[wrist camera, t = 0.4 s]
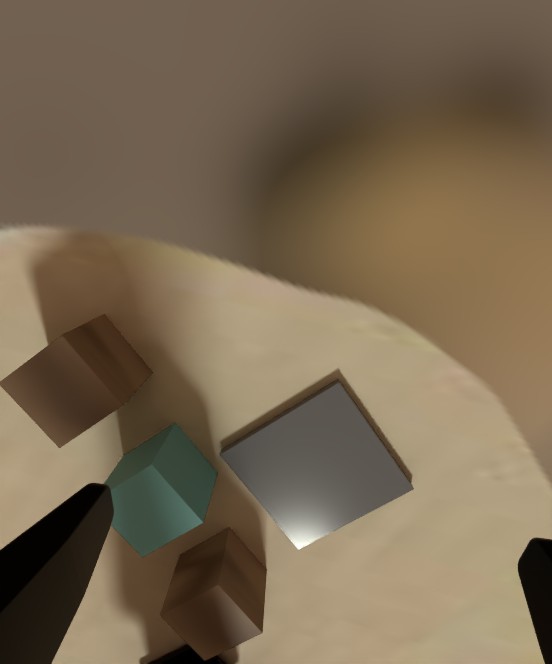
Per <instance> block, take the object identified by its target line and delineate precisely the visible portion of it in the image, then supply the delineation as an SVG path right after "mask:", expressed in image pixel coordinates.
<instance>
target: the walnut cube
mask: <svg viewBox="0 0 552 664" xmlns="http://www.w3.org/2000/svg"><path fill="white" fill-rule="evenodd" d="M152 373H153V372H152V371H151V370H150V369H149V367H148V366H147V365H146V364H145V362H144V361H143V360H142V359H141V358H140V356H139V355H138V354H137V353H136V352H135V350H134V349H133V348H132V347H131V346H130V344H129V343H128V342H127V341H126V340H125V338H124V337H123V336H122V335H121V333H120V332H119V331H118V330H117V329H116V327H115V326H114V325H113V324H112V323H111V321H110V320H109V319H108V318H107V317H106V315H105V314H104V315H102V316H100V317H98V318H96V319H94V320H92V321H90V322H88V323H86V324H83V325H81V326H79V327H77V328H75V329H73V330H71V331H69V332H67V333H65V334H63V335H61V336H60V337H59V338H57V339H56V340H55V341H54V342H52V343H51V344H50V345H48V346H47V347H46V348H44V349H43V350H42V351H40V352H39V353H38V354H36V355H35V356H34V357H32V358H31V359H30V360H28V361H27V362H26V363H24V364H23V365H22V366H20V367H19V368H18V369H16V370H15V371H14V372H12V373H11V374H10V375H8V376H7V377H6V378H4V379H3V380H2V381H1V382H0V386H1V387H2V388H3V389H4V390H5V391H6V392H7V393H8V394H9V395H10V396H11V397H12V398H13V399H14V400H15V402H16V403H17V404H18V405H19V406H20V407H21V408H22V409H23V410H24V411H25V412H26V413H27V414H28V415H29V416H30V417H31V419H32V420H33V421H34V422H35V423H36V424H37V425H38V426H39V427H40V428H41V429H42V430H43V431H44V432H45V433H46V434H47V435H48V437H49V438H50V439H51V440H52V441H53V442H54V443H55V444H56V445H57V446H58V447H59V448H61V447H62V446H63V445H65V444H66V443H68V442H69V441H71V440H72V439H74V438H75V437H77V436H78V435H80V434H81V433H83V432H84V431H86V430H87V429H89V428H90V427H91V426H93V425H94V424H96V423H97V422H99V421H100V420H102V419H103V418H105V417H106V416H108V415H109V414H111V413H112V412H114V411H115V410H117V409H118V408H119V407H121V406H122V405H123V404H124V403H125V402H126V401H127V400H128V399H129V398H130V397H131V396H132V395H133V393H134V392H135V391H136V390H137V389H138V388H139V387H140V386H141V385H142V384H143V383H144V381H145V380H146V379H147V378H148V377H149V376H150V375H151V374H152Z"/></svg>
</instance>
